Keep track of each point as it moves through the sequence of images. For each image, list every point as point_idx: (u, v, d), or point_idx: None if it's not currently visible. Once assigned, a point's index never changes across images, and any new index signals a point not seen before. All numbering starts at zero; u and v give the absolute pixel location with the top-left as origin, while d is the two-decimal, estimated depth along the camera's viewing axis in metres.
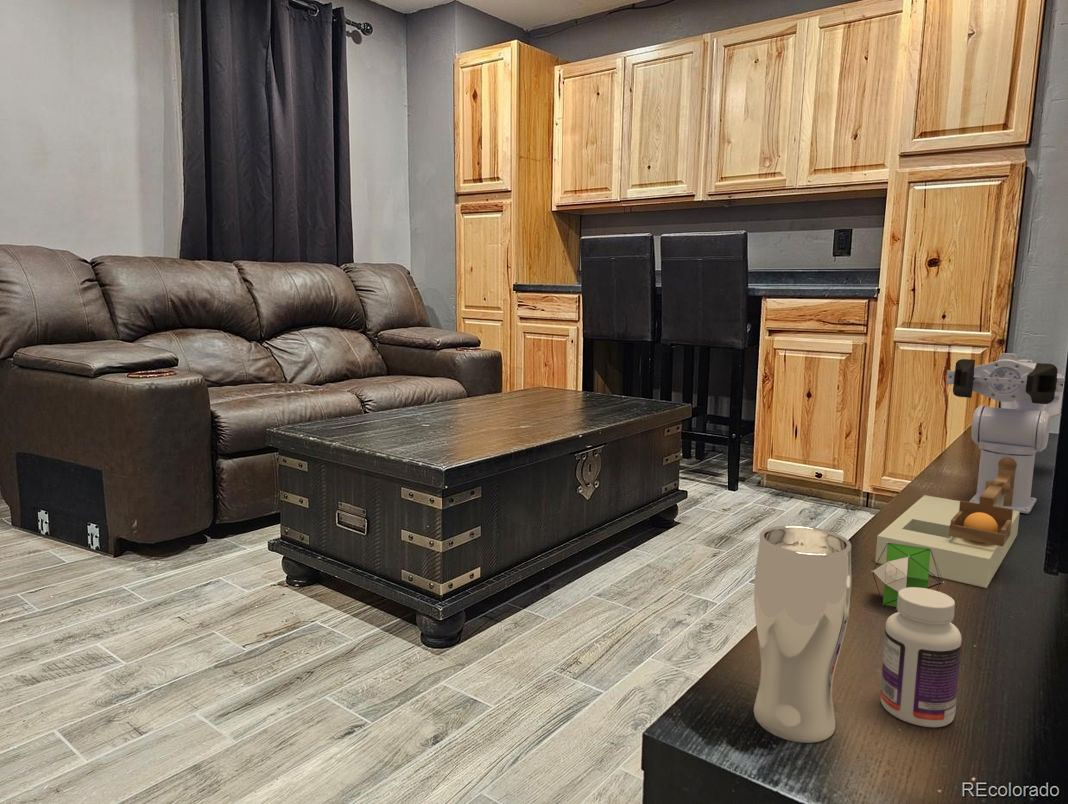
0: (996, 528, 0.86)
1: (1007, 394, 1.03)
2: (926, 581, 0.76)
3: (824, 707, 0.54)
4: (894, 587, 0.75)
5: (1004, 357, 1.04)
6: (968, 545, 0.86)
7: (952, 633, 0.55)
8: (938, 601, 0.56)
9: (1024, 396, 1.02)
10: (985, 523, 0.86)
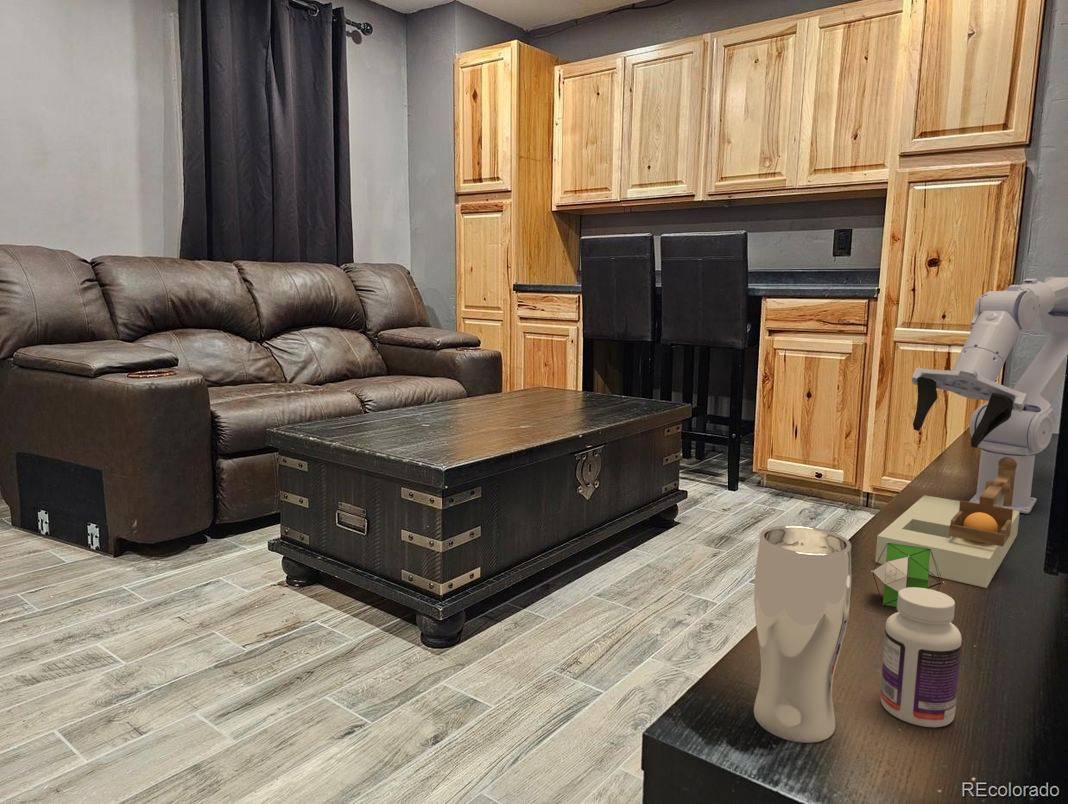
0: (996, 528, 0.86)
1: None
2: (926, 581, 0.76)
3: (824, 707, 0.54)
4: (894, 587, 0.75)
5: (964, 374, 1.02)
6: (968, 545, 0.86)
7: (952, 634, 0.55)
8: (938, 601, 0.56)
9: None
10: (985, 523, 0.86)
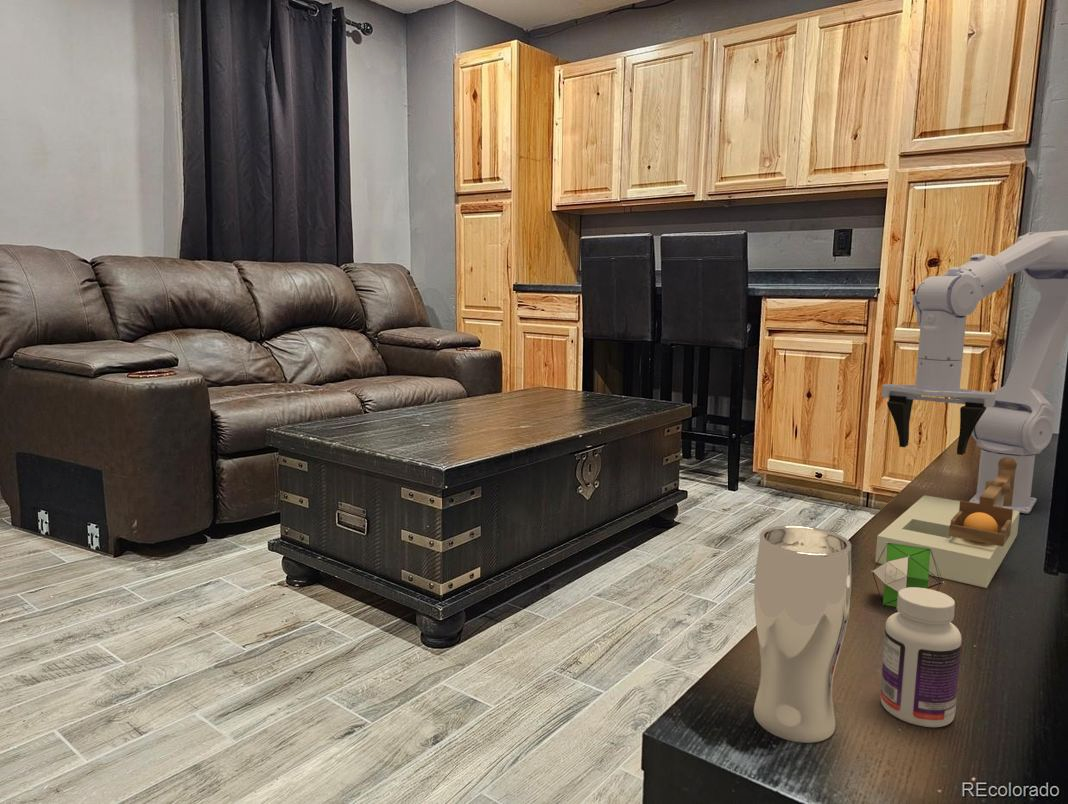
0: (996, 528, 0.86)
1: None
2: (926, 581, 0.76)
3: (824, 707, 0.54)
4: (894, 587, 0.75)
5: None
6: (968, 545, 0.86)
7: (952, 633, 0.55)
8: (938, 601, 0.56)
9: None
10: (985, 523, 0.86)
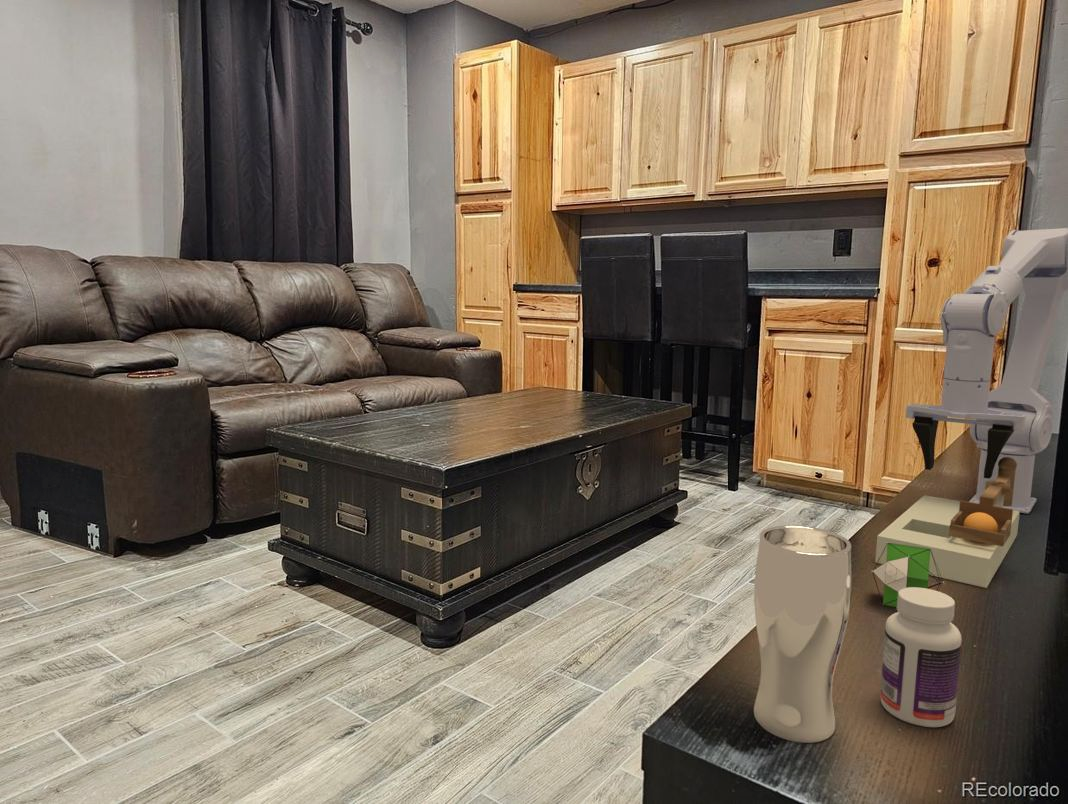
0: (996, 528, 0.86)
1: None
2: (926, 581, 0.76)
3: (824, 707, 0.54)
4: (894, 587, 0.75)
5: None
6: (968, 545, 0.86)
7: (952, 633, 0.55)
8: (938, 601, 0.56)
9: None
10: (985, 523, 0.86)
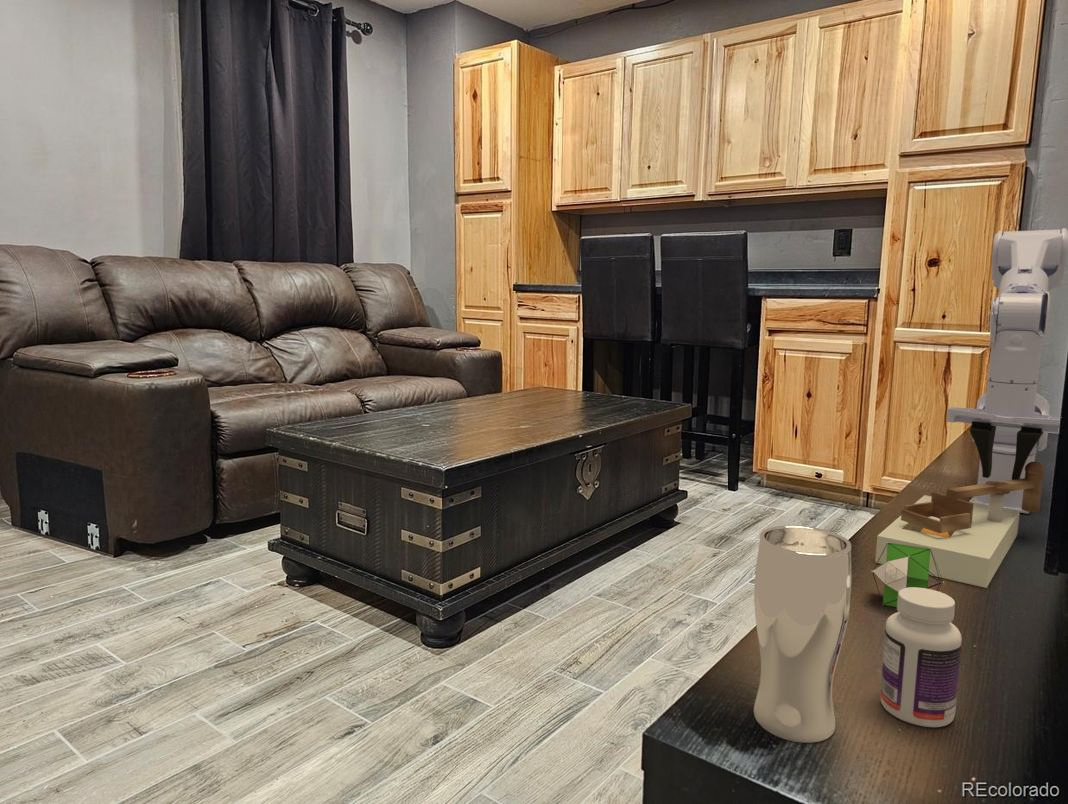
0: (922, 530, 0.93)
1: None
2: (926, 581, 0.76)
3: (824, 707, 0.54)
4: (894, 587, 0.75)
5: None
6: (968, 545, 0.86)
7: (952, 633, 0.55)
8: (938, 601, 0.56)
9: None
10: None
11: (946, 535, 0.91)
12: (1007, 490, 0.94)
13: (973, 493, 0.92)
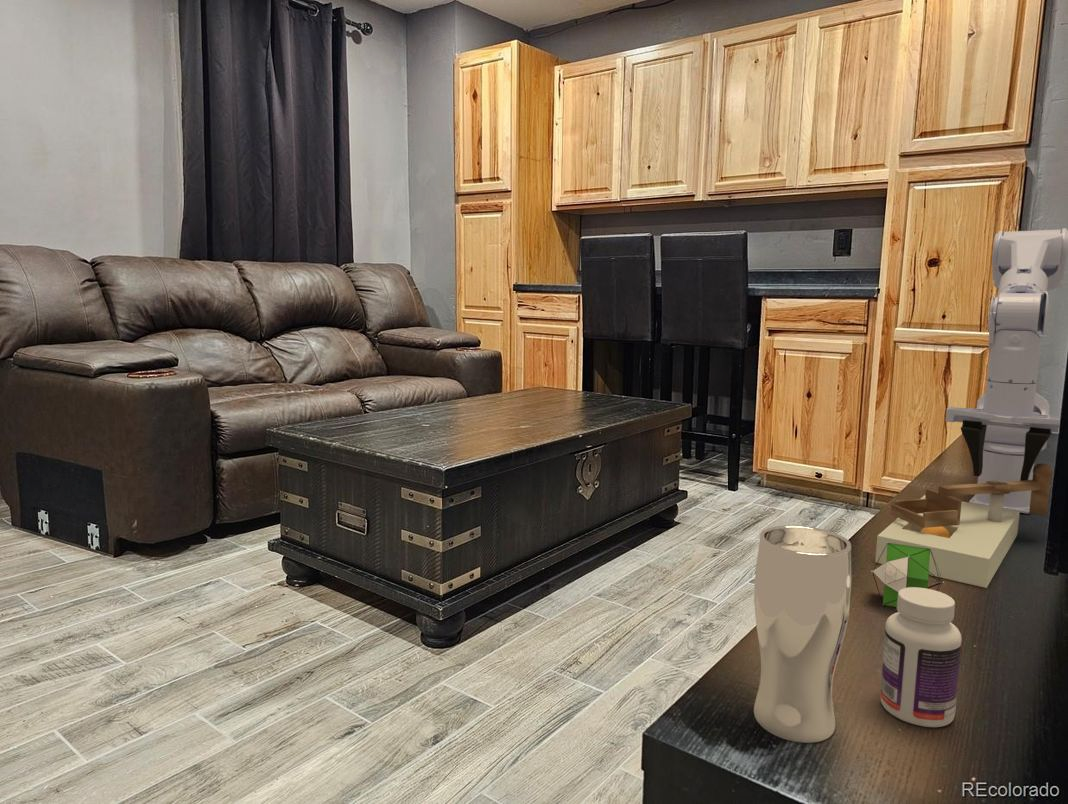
0: (923, 528, 0.93)
1: None
2: (926, 581, 0.76)
3: (824, 707, 0.54)
4: (894, 587, 0.75)
5: (999, 420, 0.96)
6: (968, 545, 0.86)
7: (952, 633, 0.55)
8: (938, 601, 0.56)
9: None
10: None
11: (947, 533, 0.91)
12: (1006, 490, 0.94)
13: (966, 491, 0.93)
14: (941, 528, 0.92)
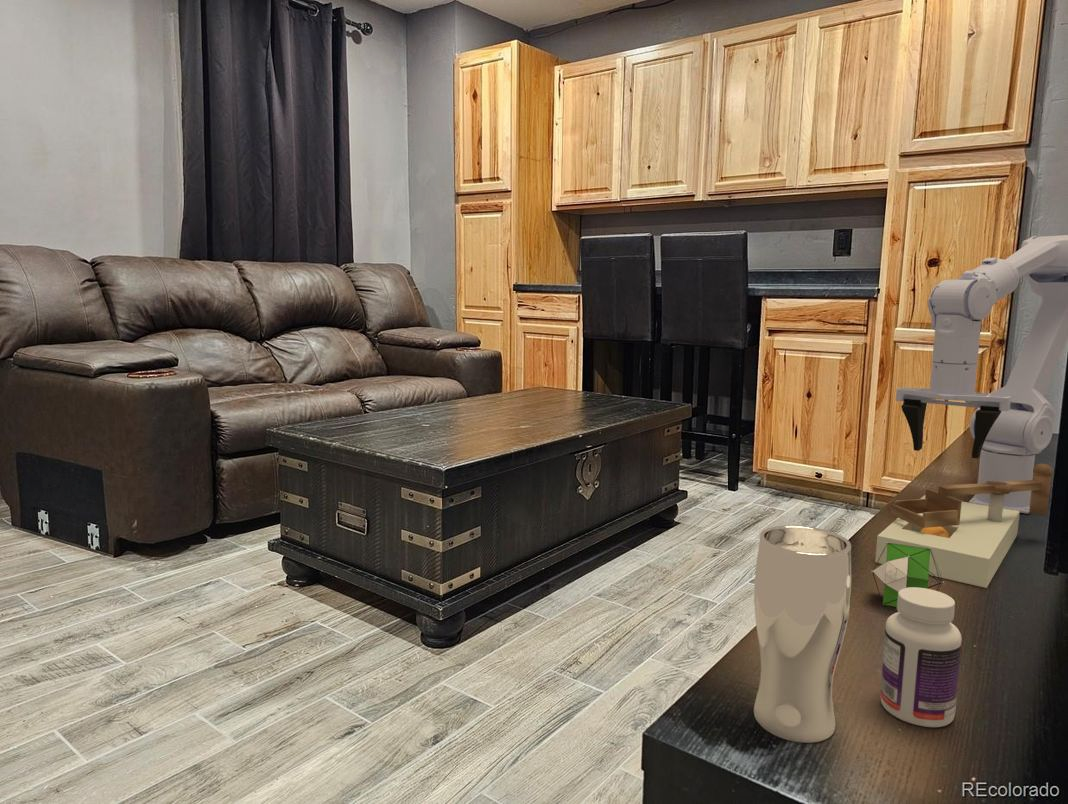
0: (921, 530, 0.93)
1: None
2: (926, 581, 0.76)
3: (824, 707, 0.54)
4: (894, 587, 0.75)
5: (943, 398, 1.03)
6: (968, 545, 0.86)
7: (952, 634, 0.55)
8: (938, 601, 0.56)
9: None
10: None
11: (946, 535, 0.91)
12: (1006, 490, 0.94)
13: (966, 491, 0.93)
14: (940, 531, 0.91)
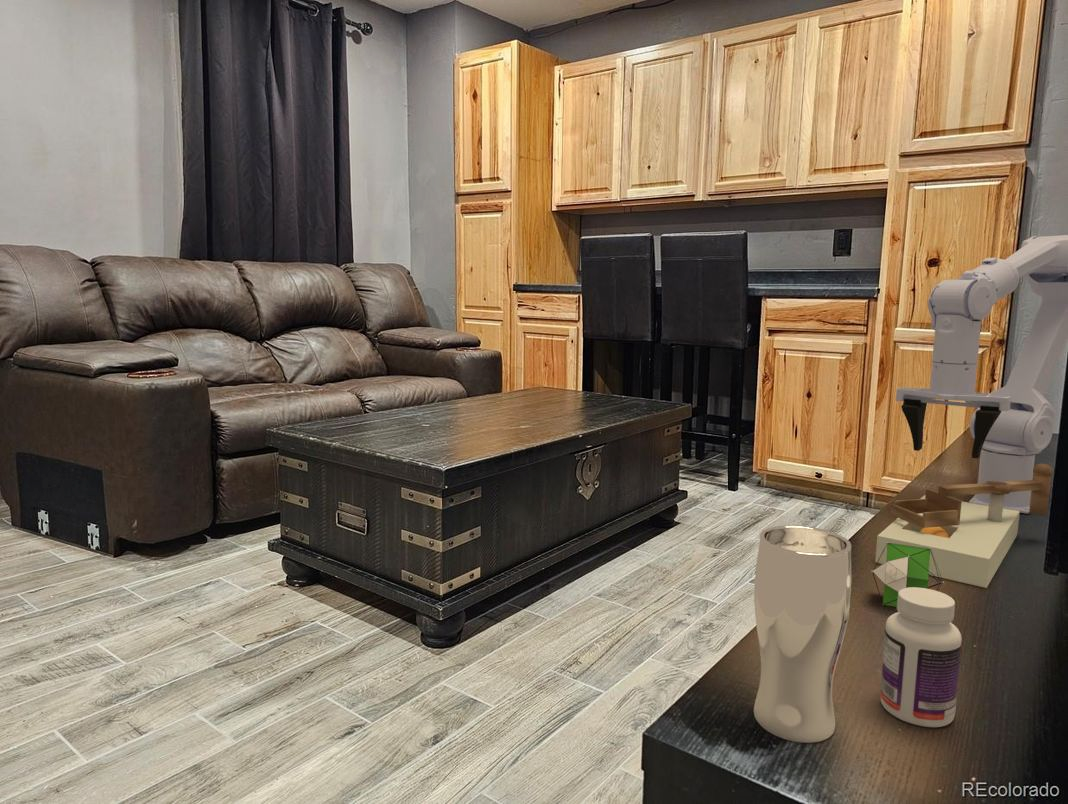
0: (920, 532, 0.92)
1: None
2: (926, 581, 0.76)
3: (824, 707, 0.54)
4: (894, 587, 0.75)
5: (943, 398, 1.03)
6: (968, 545, 0.86)
7: (952, 634, 0.55)
8: (938, 601, 0.56)
9: None
10: None
11: None
12: (1006, 490, 0.94)
13: (966, 491, 0.93)
14: (938, 533, 0.91)
